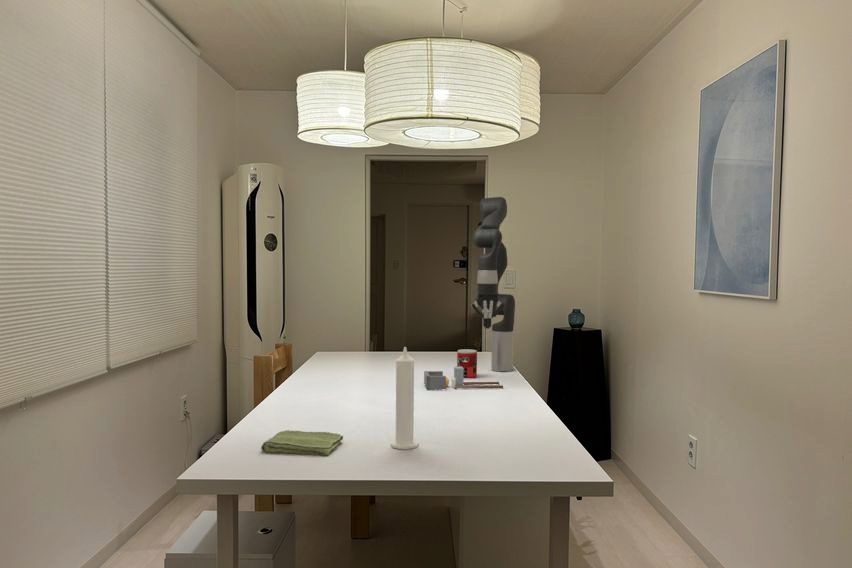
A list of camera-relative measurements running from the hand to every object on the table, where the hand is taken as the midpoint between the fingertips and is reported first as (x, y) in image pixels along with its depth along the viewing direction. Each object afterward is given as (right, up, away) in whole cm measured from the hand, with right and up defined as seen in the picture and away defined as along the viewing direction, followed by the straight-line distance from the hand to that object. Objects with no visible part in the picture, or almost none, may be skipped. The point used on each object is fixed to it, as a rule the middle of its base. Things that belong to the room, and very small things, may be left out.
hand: (487, 328), depth 226 cm
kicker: (-11, -22, -1) cm, 24 cm away
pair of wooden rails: (-4, -22, 0) cm, 22 cm away
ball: (-16, -20, -2) cm, 26 cm away
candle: (-28, -24, -75) cm, 84 cm away
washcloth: (-54, -25, -76) cm, 97 cm away
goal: (-20, -22, -2) cm, 30 cm away
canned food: (-6, -22, +18) cm, 29 cm away
